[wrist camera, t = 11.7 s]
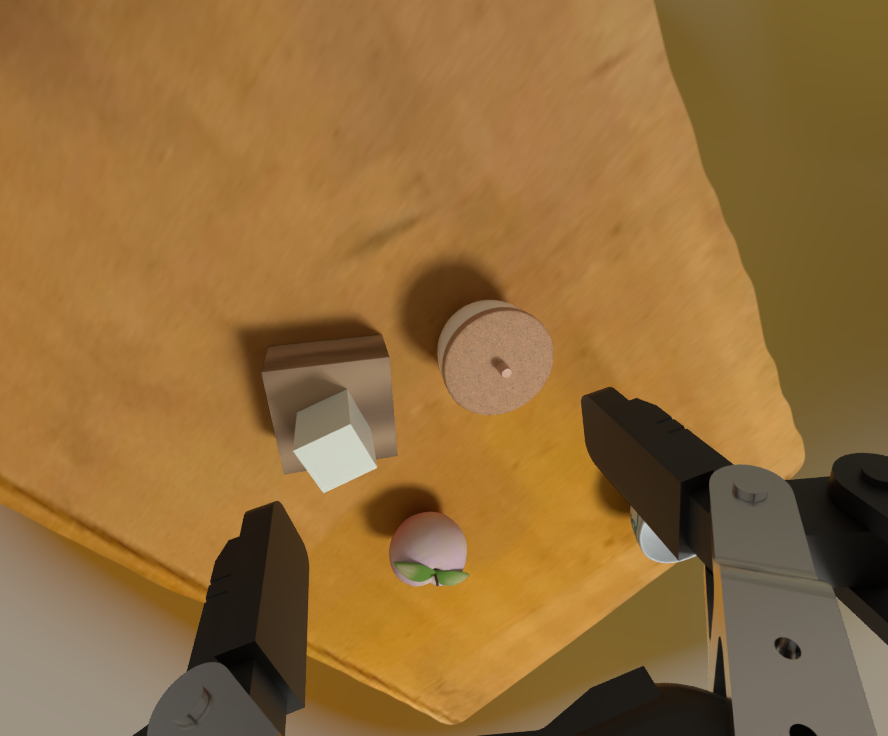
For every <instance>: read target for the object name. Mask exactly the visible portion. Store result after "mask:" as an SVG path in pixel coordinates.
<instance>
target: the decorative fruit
mask: <svg viewBox="0 0 888 736" xmlns="http://www.w3.org/2000/svg"><path fill="white" fill-rule="evenodd" d="M466 555H467V545H466V539H465V536H464V534H463V532H462V530H461V529H460V527H459V526H458V525H457V524H456V523H455V522H454V521H453V520H452V519H451V518H449V517H448V516H446V515H444V514H442V513H437V512H422V513H419V514H416V515H413V516H411V517H409V518H407V519H406V520H405V521H404V522H403V523H402V524H401V525H400V526H399V527H398V529H397V530H396V532H395V534H394V536H393V538H392V540H391V544H390V548H389V559H390V563H391V567H392V569H393V571H394V573H395V574H396V576H397V577H398V578H399V579H400V580H401V581H403V582H405V583H407V584H409V585H412V586H422V585H425V584H428V583H432V584H434V585H436V586H443V585H447V586H452V585H456V584H458V583H460V582H462V581H464V580H465V579H466V578H467V577H468V576H469V574H468V573H465V572H462V570H463V568H464V566H465V562H466Z"/></svg>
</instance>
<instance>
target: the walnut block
mask: <svg viewBox="0 0 888 736" xmlns="http://www.w3.org/2000/svg"><path fill="white" fill-rule="evenodd" d="M261 373H262V378H263V382H264V387H265V391H266V396H267V400H268V405H269V409H270V414H271V418H272V423H273V427H274V432H275V436H276V441H277V445H278V450H279V454H280V459H281V463H282V468H283V472H284V474H290V473H296V472H302V471H307V470H306V468H305V467H304V466H303V464H302V463H301V461H300V460H299V459H298V457H297V456H296V455H295V453H294V452H293V446H294V436H295V426H296V417H297V412H299V411H301V410H303V409H305V408H308V407H310V406H312V405H314V404H316V403H318V402H320V401H323V400H325V399H327V398H329V397H331V396H333V395H335V394H338V393H340V392H342V391H344V390H346V389H347V390H348V391H349V393H350V395H351V396H352V398H353V400H354V401H355V403H356V405H357V407H358V408H359V410H360V412H361V413H362V415H363V417H364V418H365V420H366V422H367V423H368V425H369V427H370V429H371V432H372V438H373V444H374V450H375V456H376V459H381V458H387V457H394V456H397V444H396V432H395V419H394V407H393V395H392V383H391V371H390V359H389V354H388V351H387V348H386V345H385V342H384V339H383V336H382V334H381V335H372V336H363V337H353V338H344V339H335V340H326V341H316V342H307V343H298V344H289V345H279V346H270V347H268V349H267V353H266V356H265V360H264V364H263V368H262V371H261Z"/></svg>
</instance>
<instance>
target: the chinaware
mask: <svg viewBox="0 0 888 736" xmlns="http://www.w3.org/2000/svg"><path fill="white" fill-rule="evenodd" d="M630 517H631V524H632V528H633V532H634V534H635V537H636V539H637V542H638V544H639V546H640V548H641V549H642V551H643V552H644V554H645V555H646V556H647V557H648V558H650V559H652V560H654V561H657V562H661V563H674V562H680V561H683V560H686V559H689V558H692V557H694V556H696V554H695V555H692V556H689V557H687V558H684V559H682V560H679V561H678V560H677V559H676V557H675V556H674V555H673V554H672V553H671V552H670V550H669V549H668V548H667V547H666V546H665V545H664V544H663V542H662V541H661V540H660V539H659V538H658V537H657V535H656V534H655V533H654V532H653V531H652V530H651V528H650V527H649V526H648V525H647V524H646V523H645V522H644V520H643V519H642V518H641V517H640V516H639V515H638V513H637V512H636V511H635V510H634V509H633V508H632V507H630Z"/></svg>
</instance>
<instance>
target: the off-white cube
mask: <svg viewBox="0 0 888 736" xmlns="http://www.w3.org/2000/svg"><path fill="white" fill-rule="evenodd" d="M293 452H294V453H295V455H296V456H297V457H298V459H299V460H300V461H301V463H302V464H303V466H304V467H305V468H306V470H307V471H308V472H309V474H310V475H311V477H312V478H313V479H314V481H315V482H316V483H317V485H318V486H319V488H320V489H321V490H322V492H323V493H325V492H327V491H329V490H331V489H333V488H336V487H338V486H340V485H342V484H344V483H346V482H348V481H350V480H352V479H355V478H357V477H359V476H361V475H363V474H365V473H367V472H369V471H371V470H374V469H376V468H377V462H376V456H375V450H374V444H373V438H372V432H371V429H370V427H369V425H368V423H367V422H366V420H365V418H364V417H363V415H362V413H361V412H360V410H359V408H358V407H357V405H356V403H355V401H354V400H353V398H352V396H351V395H350V393H349V391H348V390H347V389H346V390H344V391H342V392H340V393H338V394H335V395H333V396H331V397H329V398H327V399H325V400H323V401H320V402H318V403H316V404H314V405H312V406H310V407H308V408H305V409H303V410H301V411H299V412H297V417H296V426H295V436H294V446H293Z"/></svg>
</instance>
